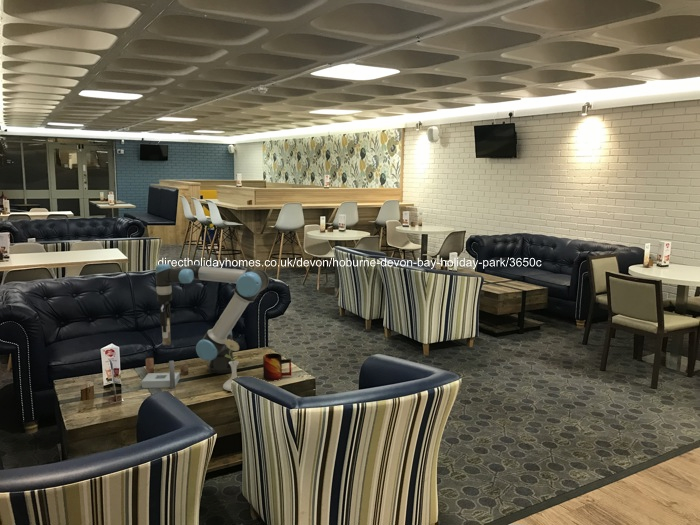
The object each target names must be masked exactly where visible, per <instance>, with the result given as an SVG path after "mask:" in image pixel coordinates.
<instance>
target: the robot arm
mask: <svg viewBox="0 0 700 525" xmlns="http://www.w3.org/2000/svg"><path fill="white" fill-rule="evenodd" d="M154 274H155V281H156V285H155V286H156V287H155V290H156V300H157V302H159V303H160V306H159V308H158V309H159V310H158V311H159V316H160V325H159V327H161V332H162V333H161V334H162V335H163V337H162V339H163V338H168V326H167V318H169V319H170V324H172V320H171V319H172V318H171V303H170V302H171V301H172V300H173V294H172V292H173V291H172V284H185V285H186V284H191V283H192V282H193V281H194V280H198V281H208V282H209V281H210V282H219V283H230V284H235V285H236V286H235V287H234V289H233V291H234V294H233V296H232V298H231V299H230V301H229V302H228V304H227V305H226V307H225V308H224V310H223V312H222V313H221V315H220V316H219V319H218V320H217V321H216V322H215V325H214V326H213V328H211V329H208V330H207V332H206V333H205V334H204V336H203V338H202V339H200V340H199V341H198V342H197V343H196V345H195V351H196V354H197V356H198V357H199V358H200V359H201V360H203V361H206V362H208V366H207V371H208V372H209V373H212V374H228V373H232V369H231V366H230V364H229V362H230V361H232V360H231V359H233V358H234V354H233V353H234V351H233V350H231V351H230V349H229V348H228V347H227V345H225V341H226V340H228V339H230V340H231V341H232V340H233V331H232V330H233V328H234V327H235V326H236V324H237V322H238V321H239V319H240V318H241V316H242V314H243V313H244V311H245V310H246V308H247V307H248V305H249V304H250V303H254V302H255V300H256V298H257V297H258V295H259V294H260V292H262V291H264V290H265V289H267V287H268V286H269V283H270V278H269V275H268V273H267V272H266V271H265V270H263V269H260V268H246V269H236V268H228V267H227V268H224V267H216V266H215V267H214V266H205V265H204V266H202V265H200V264H196V263H195V264H191V265H188V266H184V267H182V268H171V264H169V263H162V264H157V265H156V266H155V273H154ZM229 352H230V356H231V358H227V357H225V355H226V354H227V355H229ZM233 361H236V360H235V359H234V360H233Z"/></svg>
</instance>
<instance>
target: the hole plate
mask: <svg viewBox="0 0 700 525" xmlns="http://www.w3.org/2000/svg"><path fill="white" fill-rule="evenodd" d="M168 368H169V369H168V370H169V372H154V373H148V374H147V375H146V374H145V377H144V378H143V379H141V388H142V389H154V388H159V389H160V388H169V389H170V390H175V389H176V386H177V384H178V383H179V380H180V379H181V378H180V376H181V372H175V361H174V360H169V361H168Z"/></svg>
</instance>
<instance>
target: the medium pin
mask: <svg viewBox="0 0 700 525" xmlns="http://www.w3.org/2000/svg"><path fill="white" fill-rule="evenodd" d="M154 361H155V360H154V357H147V358H145V373H146V374H145V376H146V375H147V374H148V373H155V365H154V363H155V362H154Z"/></svg>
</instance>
